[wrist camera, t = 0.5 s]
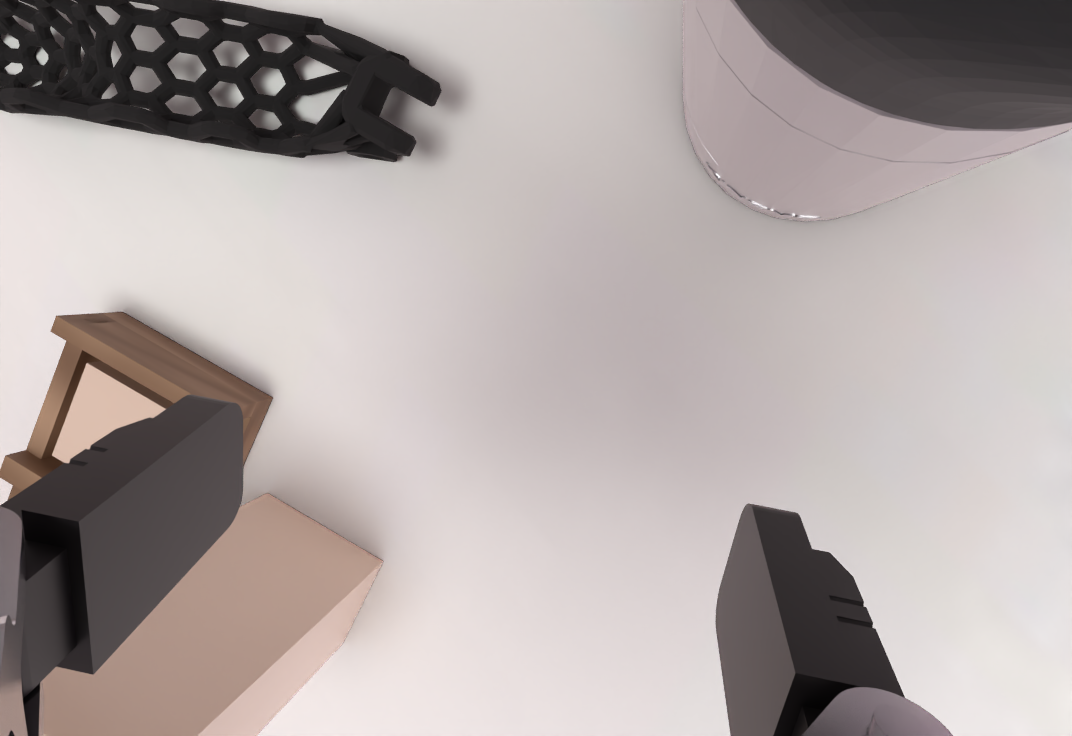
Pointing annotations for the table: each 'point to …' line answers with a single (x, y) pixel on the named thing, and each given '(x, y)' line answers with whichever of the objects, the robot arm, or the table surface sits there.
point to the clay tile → (104, 408)
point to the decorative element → (207, 76)
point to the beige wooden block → (225, 635)
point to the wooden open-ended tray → (138, 359)
